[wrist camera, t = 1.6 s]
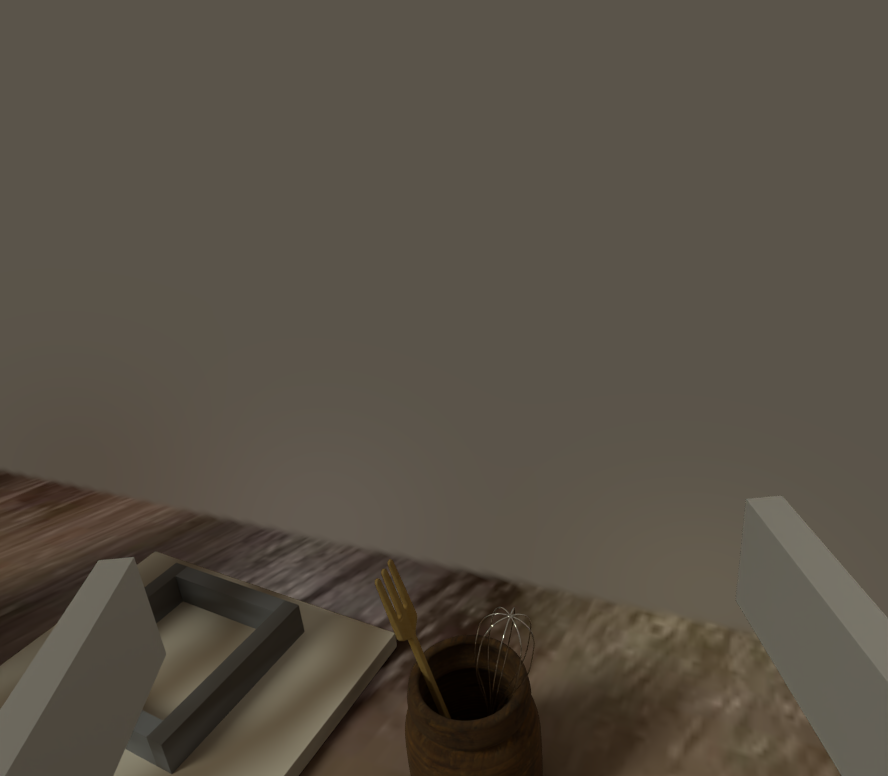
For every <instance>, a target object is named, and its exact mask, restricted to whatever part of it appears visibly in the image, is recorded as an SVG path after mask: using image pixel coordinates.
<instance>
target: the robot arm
mask: <svg viewBox="0 0 888 776" xmlns="http://www.w3.org/2000/svg"><path fill="white" fill-rule="evenodd" d="M736 602H737V604H738V605H739V607H740V609H741V610H742V612H743V613H744V615H745V617H746V618H747V620H748V622H749V623H750V625H751V627H752V628H753V630H754V632H755V633H756V635H757V637H758V638H759V640H760V642H761V643H762V645H763V647H764V648H765V650H766V652H767V653H768V655H769V657H770V658H771V660H772V661H773V663H774V665H775V666H776V668H777V670H778V671H779V673H780V675H781V676H782V678H783V680H784V681H785V683H786V685H787V686H788V688H789V690H790V691H791V693H792V695H793V696H794V698H795V700H796V701H797V703H798V705H799V706H800V708H801V709H802V711H803V713H804V714H805V716H806V718H807V719H808V721H809V723H810V724H811V726H812V728H813V729H814V731H815V733H816V734H817V736H818V738H819V739H820V741H821V743H822V744H823V746H824V748H825V749H826V751H827V753H828V754H829V756H830V757H831V759H832V761H833V762H834V764H835V766H836V767H837V769H838V771H839V772H840V774H841V776H888V618H887V616H885V614H884V613H883V612H882V611H881V609H880V608H879V607H878V606H877V605H876V604H875V602H874V601H873V600H872V599H871V598H870V597H869V596H868V595H867V593H866V592H865V591H864V590H863V589H862V587H861V586H860V585H859V584H858V583H857V582H856V581H855V580H854V578H853V577H852V576H851V575H850V574H849V572H847V570H846V569H845V568H844V567H843V566H842V564H841V563H840V562H839V561H838V560H837V559H836V557H835V556H834V555H833V554H832V553H831V552H830V550H828V548H827V547H826V546H825V545H824V544H823V542H822V541H821V540H820V539H819V538H818V537H817V535H816V534H815V533H814V532H813V531H812V530H811V529H810V528H809V526H808V525H807V524H806V523H805V522H804V520H803V519H802V518H801V517H800V516H799V515H798V514H797V512H795V510H794V509H793V508H792V507H791V506H790V504H789V503H788V502H787V501H786V500H785V499H784V497H783V496H771V497H760V498H750V499H746V504H745V514H744V524H743V533H742V543H741V553H740V563H739V573H738V583H737V593H736ZM165 656H166V651H165V648H164V645H163V642H162V639H161V636H160V633H159V630H158V627H157V624H156V621H155V618H154V615H153V612H152V609H151V606H150V603H149V600H148V597H147V594H146V591H145V588H144V585H143V582H142V579H141V576H140V573H139V570H138V567H137V564H136V561H135V558H134V557H128V558H118V559H107V560H98V562H97V563H96V565H95V566H94V568H93V570H92V571H91V573H90V574H89V576H88V577H87V579H86V580H85V582H84V583H83V585H82V586H81V588H80V589H79V591H78V592H77V594H76V595H75V597H74V598H73V600H72V601H71V603H70V604H69V606H68V607H67V609H66V610H65V612H64V614H63V615H62V617H61V618H60V620H59V621H58V623H57V624H56V626H55V627H54V629H53V630H52V632H51V633H50V635H49V636H48V638H47V639H46V641H45V642H44V644H43V645H42V647H41V648H40V650H39V651H38V653H37V655H36V656H35V658H34V659H33V661H32V662H31V664H30V665H29V667H28V668H27V670H26V671H25V673H24V674H23V676H22V677H21V679H20V680H19V682H18V683H17V685H16V686H15V688H14V689H13V691H12V692H11V694H10V695H9V697H8V699H7V700H6V702H5V703H4V705H3V706H2V708H1V709H0V776H114V773H115V771H116V769H117V767H118V764H119V762H120V760H121V757H122V755H123V753H124V750H125V748H126V746H127V744H128V741H129V739H130V737H131V734H132V732H133V730H134V727H135V725H136V723H137V721H138V718H139V716H140V714H141V711H142V709H143V707H144V704H145V702H146V700H147V698H148V695H149V693H150V691H151V688H152V686H153V684H154V681H155V679H156V677H157V675H158V672H159V670H160V668H161V665H162V663H163V661H164V658H165Z"/></svg>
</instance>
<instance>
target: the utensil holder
mask: <svg viewBox="0 0 888 776" xmlns="http://www.w3.org/2000/svg"><path fill="white" fill-rule="evenodd" d="M388 567H389V570H390V572H391V575H392V577H393V580H394V583H395V585H396V588H397V590H398V593H399V595H400V598H401V600H400V598H399V596H398V593H397V591H396V589H395V587H394V585H393V582H392V580H391V578H390V576H389V574H388V572H387V570H386V569H382V571H381V575H382V577H383V580H384V582H385V585H386V587H387V590H388V592H389V595H390V597H391V600H392V602H393V605H394V608H395V610H396V612H395V610H394V608H393V606H392V604H391V601H390V599H389V597H388V595H387V593H386V591H385V588H384V586H383V584H382V582H381V580H380V579H378V578H377V579H376V580H375V586H376V588H377V591H378V593H379V596H380V598H381V601H382V603H383V606H384V608H385V611H386V613H387V616H388V618H389V621H390V623H391V626H392V628H393V631H394V633H395V635H396V638H397V639H398V640H399V641H405V640H408V641H409V644H410V646H411V648H412V651H413V653H414V655H415V658H416V660H417V661H416V662H415V664H414V666H413V668H412V670H411V673H410V677H409V682H408V692H407V702H408V710H407V715H406V722H405V738H406V748H407V755H408V762H409V768H410V774H411V776H542V744H541V729H540V721H539V715H538V711H537V708H536V705H535V702H534V699H533V697H532V695H531V686H530V681H529V678H528V674H529V672H530V669H531V666H532V661H533V655H534V649H535V640H534V636H533V634H532V632H531V628H532V624H531V621H530V619H529V618H528V617H527V616H526V615H523V614H515V607H514V608H513V609H512V611H511V614H512V612H513V610H514V615H511V614H509V613H508V612H507V610H505V609H504V608H502V607H497V608H496V609H495V610H494V612H493V614H490V615H488V616H486V617H485V618H484V619H486V618H487V617H489V616H491V615H492V620H493V616H494V615H496V614H500V615H506V616H507V617H505V618H508V617H509V619H508V622H507V625H506V628H505V631H504V635H505V632H506V629H507V626H508V623H509V620H510V618H511V619H512V618H513V619H512V627H511V632H510V637H509V642H508V646H507V645H506V644H504V643H503V639H504V635H503V638H502V642H500V641H498V640H496V639H493V638H490V630H491V628H492V627H493V626H494V625H495V624H497V623H498V622H500V621H501V620H503V619H505V618H502V619H501V620H499V621H497V622H496V623H495V624H493V625H492V620H491V625H492V626H491V625H490V628H489V630H488V631H489V636H488V637H486V634H487V633H488V631H487V632H486V633H485V635H484V636H480V635H478V633H479V628H480V625H481V623H482V622H483V620H484V619H483V620H482V621H481V622H480V625H479V628H478V632H477V635H461V636H456V637H451V638H448V639H445V640H443V641H440V642H438V643H436V644H435V645H433V646H431V647H430V648H429V649H427V650H426V651H425V652H424V653H423V651H422V648H421V646H420V644H419V641H418V639H417V637H416V632H415V629H416V623H417V613H416V611H415V609H414V606H413V604H412V602H411V600H410V597H409V595H408V593H407V591H406V589H405V586H404V584H403V582H402V580H401V577H400V575H399V573H398V571H397V569H396V566H395V564H394V562H393V560H391V559H389V560H388ZM401 601H402V602H401ZM402 603H403V604H402ZM498 608H502V609H504V610H505V611H506V612H507V613H508V615H507V614H502V613H495V611H496V610H497V609H498ZM396 613H397V614H396ZM515 615H523V616H525V617H527V618H528V619H529V621H530V626H531V627H530V629H529V627H528V626H527V625H526V624H525V623H524V622H522V621H521V620H519V619H518V618H516V617H514V616H515ZM514 618H515V619H517V620H519V621H520V622H522V623H523V624H524V625H525V626H526V627H527V628H528V629H529V631H530V635H529V641H528V646H529V642H530V636H531V634H532V637H533V641H534V647H533V654H532V660H531V665H530V668H529V671H528V674H527V671H526V668H525V666H524V664H523V662H524V659H525V657H526V654H527V651H528V646H527V650H526V653H525V656H524V659H523V661H522V660H521V658H522V646H521V639H520V635H519V632H518V629H517V626H516V624H515V622H514ZM513 623H514V625H515V627H516V630H517V632H518V636H519V641H520V648H521V656H520V657H519V656H518V655H517V653H516V652H515V651H514V650H512V649H511V648H510V647H509V643H510V638H511V633H512V628H513Z"/></svg>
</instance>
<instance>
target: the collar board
mask: <svg viewBox="0 0 888 776" xmlns="http://www.w3.org/2000/svg"><path fill="white" fill-rule="evenodd" d="M137 567H138V570H139V573H140V576H141V579H142V582H143V585H144V588H145V591H146V594H147V597H148V600H149V603H150V606H151V609H152V612H153V615H154V618H155V621H156V624H157V627H158V630H159V633H160V636H161V639H162V642H163V645H164V648H165V651H166V656H165V658H164V661H163V663H162V665H161V668H160V670H159V672H158V675H157V677H156V679H155V681H154V684H153V686H152V688H151V691H150V693H149V695H148V698H147V700H146V702H145V704H144V707H143V709H142V711H141V714H140V716H139V718H138V721H137V723H136V725H135V727H134V730H133V732H132V734H131V737H130V739H129V741H128V744H127V746H126V748H125V750H124V753H123V755H122V757H121V760H120V762H119V764H118V767H117V769H116V771H115V773H114V776H299V775H300V773H301V772H302V771H303V769H304V768H305V767H306V766H307V764H308V763H309V762H310V760H311V759H312V758H313V756H314V755H315V754H316V752H317V751H318V750H319V748H320V747H321V746H322V744H323V743H324V742H325V740H326V739H327V738H328V737H329V735H330V734H331V733H332V731H333V730H334V729H335V727H336V726H337V725H338V723H339V722H340V721H341V719H342V718H343V717H344V715H345V714H346V713H347V711H348V710H349V709H350V708H351V706H352V705H353V704H354V702H355V701H356V700H357V698H358V697H359V696H360V694H361V693H362V692H363V690H364V689H365V688H366V686H367V685H368V684H369V682H370V681H371V680H372V679H373V677H374V676H375V675H376V673H377V672H378V671H379V669H380V668H381V667H382V665H383V664H384V663H385V661H386V660H387V659H388V657H389V656H390V655H391V653H392V652H393V651H394V650H395V648H396V647H397V643H396V637H395V633H393V632H390V631H387V630H384V629H381V628H378V627H375V626H373V625H370V624H367V623H364V622H361V621H358V620H355V619H352V618H349V617H346V616H343V615H340V614H337V613H335V612H332V611H329V610H326V609H323V608H320V607H317V606H314V605H311V604H308V603H305V602H302V601H299V600H297V599H294V598H291V597H288V596H285V595H282V594H279V593H276V592H273V591H270V590H267V589H264V588H261V587H259V586H256V585H253V584H250V583H247V582H244V581H241V580H238V579H235V578H232V577H229V576H226V575H223V574H221V573H218V572H215V571H212V570H209V569H206V568H203V567H200V566H197V565H194V564H191V563H188V562H185V561H183V560H180V559H177V558H174V557H171V556H168V555H165V554H162V553H159V552H156V551H155V552H154V553H152V554H151V555H150V556H148V557H147V558H146V559H144V560H143V561H142V562H140V563H139V564H137ZM55 626H56V625H55ZM55 626H53V627H52V628H51V629H49V630H48V631H46V632H45V633H44V634H42V635H41V636H40V637H38V638H37V639H36V640H34V641H33V642H32V643H30V644H29V645H27V646H26V647H25V648H23V649H22V650H21V651H19V652H18V653H17V654H15V655H14V656H13V657H11V658H10V659H8V660H7V661H6V662H4V663H3V664H2V665H0V709H1V708H2V706H3V705H4V703H5V702H6V700H7V699H8V697H9V695H10V694H11V692H12V691H13V689H14V688H15V686H16V685H17V683H18V682H19V680H20V679H21V677H22V676H23V674H24V673H25V671H26V670H27V668H28V667H29V665H30V664H31V662H32V661H33V659H34V658H35V656H36V655H37V653H38V651H39V650H40V648H41V647H42V645H43V644H44V642H45V641H46V639H47V638H48V636H49V635H50V633H51V632H52V630H53V629H54V627H55Z"/></svg>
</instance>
